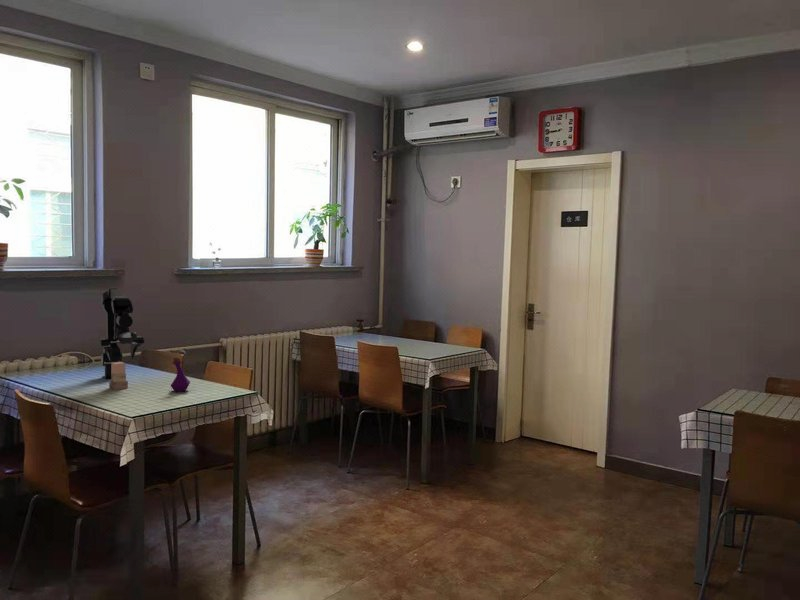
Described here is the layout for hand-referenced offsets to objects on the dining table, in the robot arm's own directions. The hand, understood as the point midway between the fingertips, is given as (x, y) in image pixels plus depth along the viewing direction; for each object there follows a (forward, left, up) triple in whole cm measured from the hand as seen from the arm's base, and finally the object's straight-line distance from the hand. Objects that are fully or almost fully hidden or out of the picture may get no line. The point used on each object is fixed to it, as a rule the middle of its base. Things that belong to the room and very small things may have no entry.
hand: (121, 360), depth 302 cm
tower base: (+2, -2, -13) cm, 13 cm away
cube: (+2, -2, -6) cm, 6 cm away
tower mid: (+2, -2, -9) cm, 9 cm away
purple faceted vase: (+23, +18, -12) cm, 31 cm away
